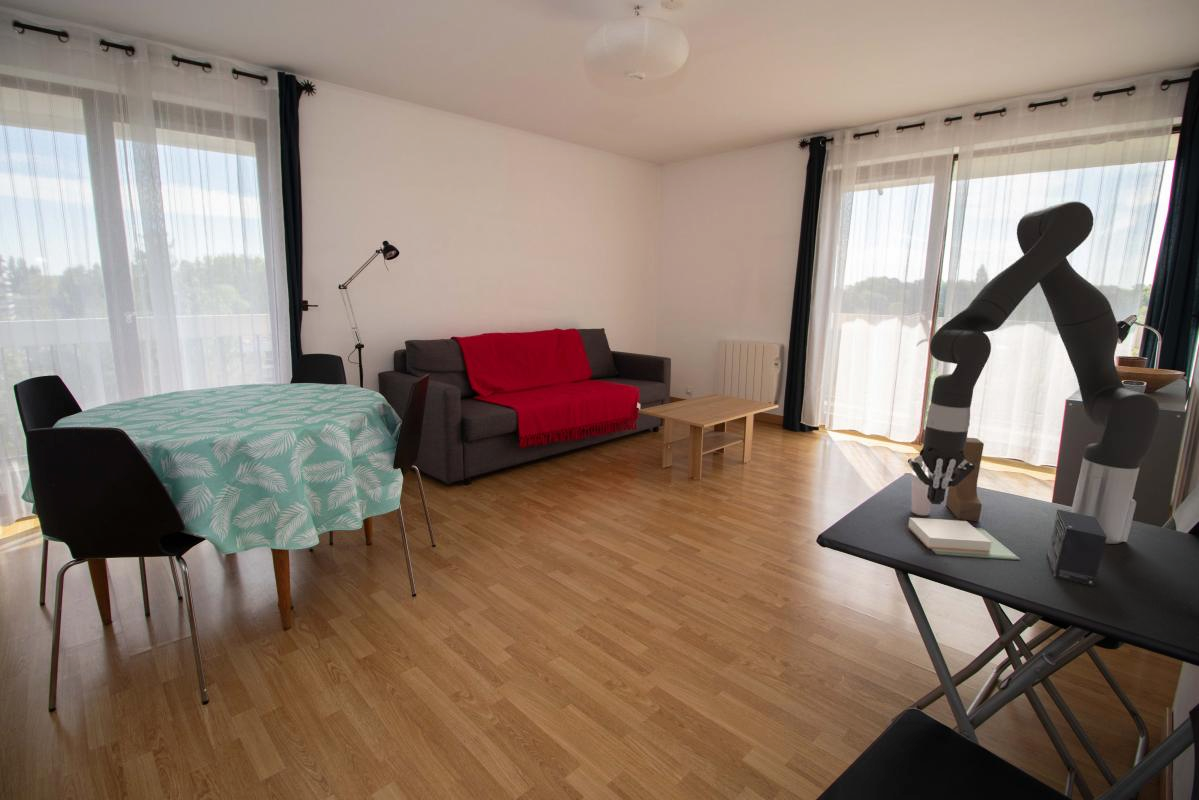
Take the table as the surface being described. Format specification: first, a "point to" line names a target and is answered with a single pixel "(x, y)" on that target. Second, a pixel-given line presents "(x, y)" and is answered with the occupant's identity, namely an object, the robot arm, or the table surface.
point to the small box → (1076, 547)
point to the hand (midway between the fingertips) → (934, 503)
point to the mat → (995, 552)
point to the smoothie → (920, 495)
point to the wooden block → (967, 486)
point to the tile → (949, 535)
